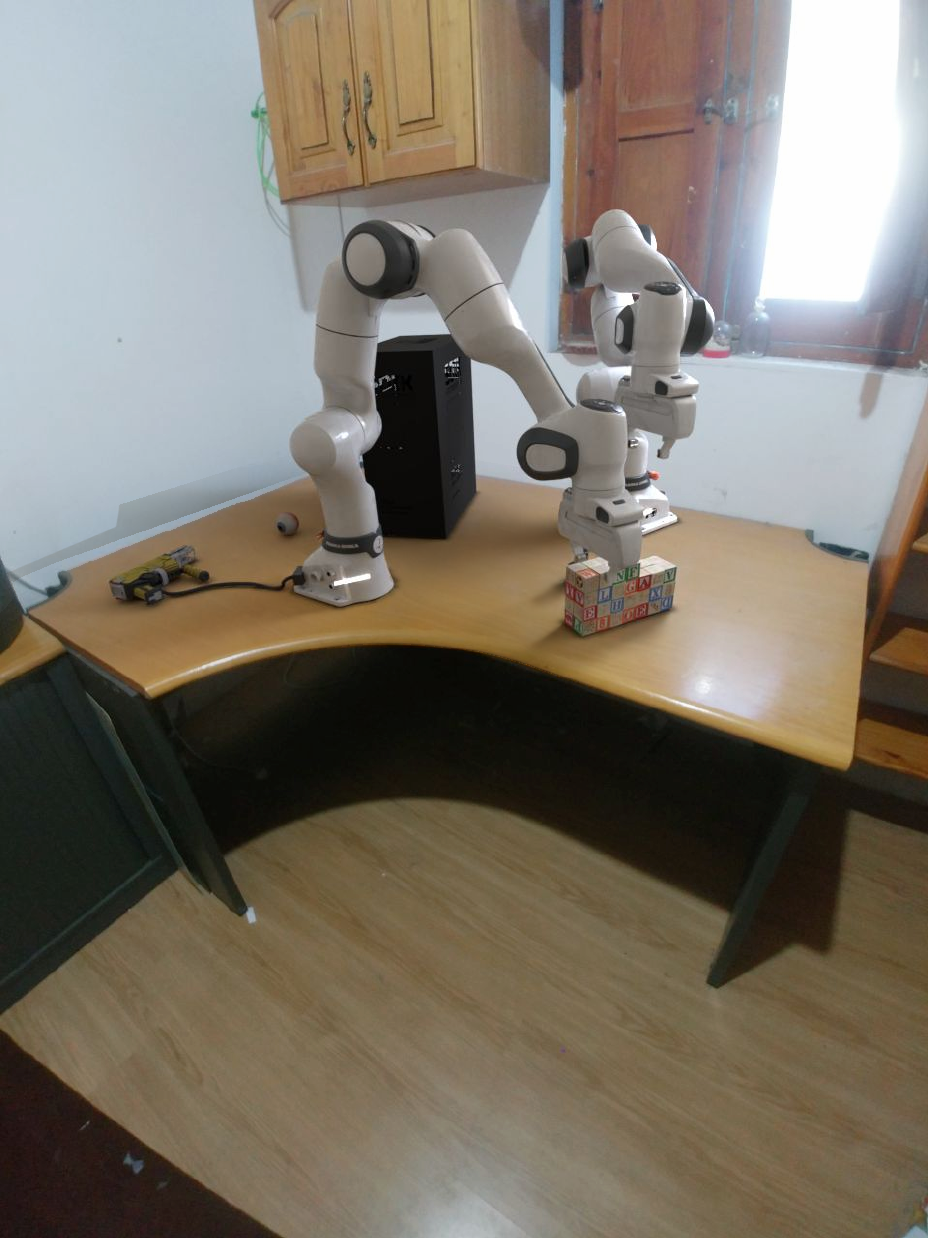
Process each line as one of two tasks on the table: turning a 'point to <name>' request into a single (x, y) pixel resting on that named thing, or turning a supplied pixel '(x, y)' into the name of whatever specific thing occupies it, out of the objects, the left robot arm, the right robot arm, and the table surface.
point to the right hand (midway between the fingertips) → (646, 452)
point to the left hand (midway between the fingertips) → (594, 572)
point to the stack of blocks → (616, 593)
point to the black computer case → (422, 436)
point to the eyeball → (287, 523)
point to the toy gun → (155, 576)
